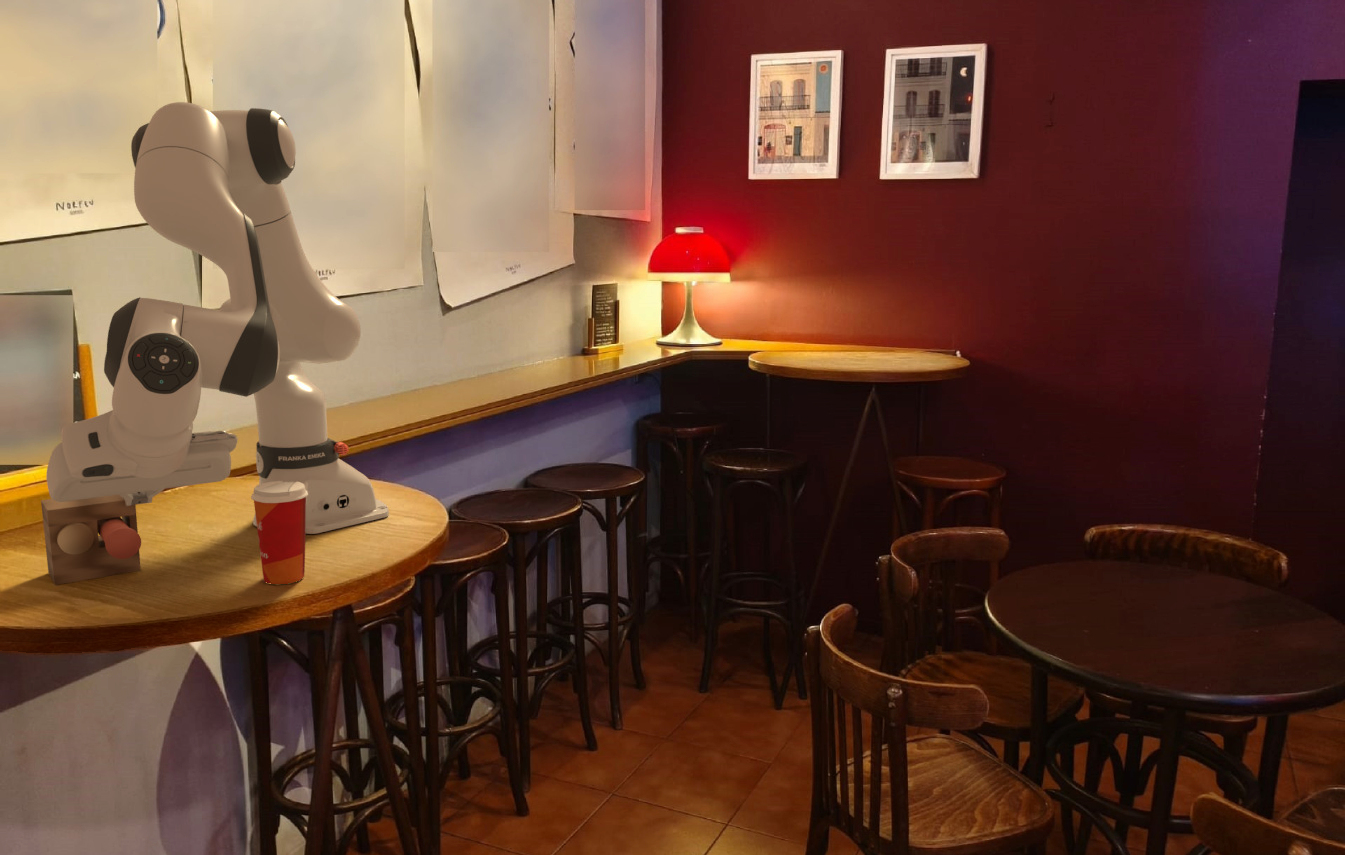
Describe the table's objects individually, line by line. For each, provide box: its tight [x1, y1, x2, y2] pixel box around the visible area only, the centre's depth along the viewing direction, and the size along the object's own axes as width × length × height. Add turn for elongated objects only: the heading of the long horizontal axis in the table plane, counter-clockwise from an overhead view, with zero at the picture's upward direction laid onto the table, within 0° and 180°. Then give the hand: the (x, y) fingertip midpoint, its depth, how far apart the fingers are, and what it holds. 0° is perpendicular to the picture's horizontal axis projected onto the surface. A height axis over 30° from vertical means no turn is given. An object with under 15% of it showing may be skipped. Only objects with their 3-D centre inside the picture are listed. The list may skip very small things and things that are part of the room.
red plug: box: [97, 517, 142, 559], centre depth 144 cm, size 4×11×4 cm, turn 39°
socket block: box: [40, 495, 142, 586], centre depth 146 cm, size 11×7×11 cm, turn 129°
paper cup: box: [250, 481, 308, 586], centre depth 145 cm, size 8×8×14 cm
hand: (137, 499), depth 129 cm, fingers closed
